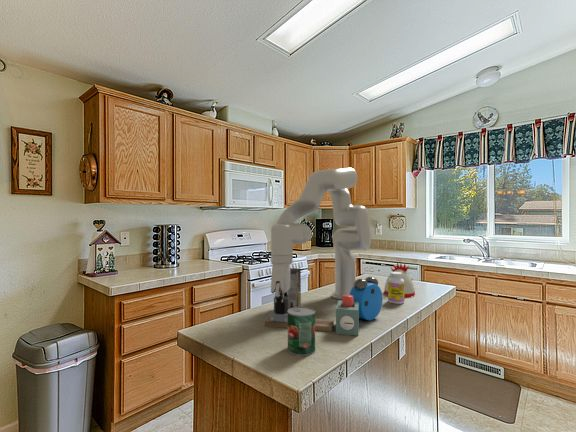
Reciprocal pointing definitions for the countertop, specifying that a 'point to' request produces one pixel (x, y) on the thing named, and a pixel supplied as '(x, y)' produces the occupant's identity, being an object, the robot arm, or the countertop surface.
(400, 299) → the supplement bottle
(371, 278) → the alarm clock
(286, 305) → the carriage
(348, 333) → the cabinet
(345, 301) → the plunger
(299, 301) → the coffee box
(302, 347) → the canned tomato
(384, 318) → the countertop surface
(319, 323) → the rail plank
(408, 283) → the kitchen timer
